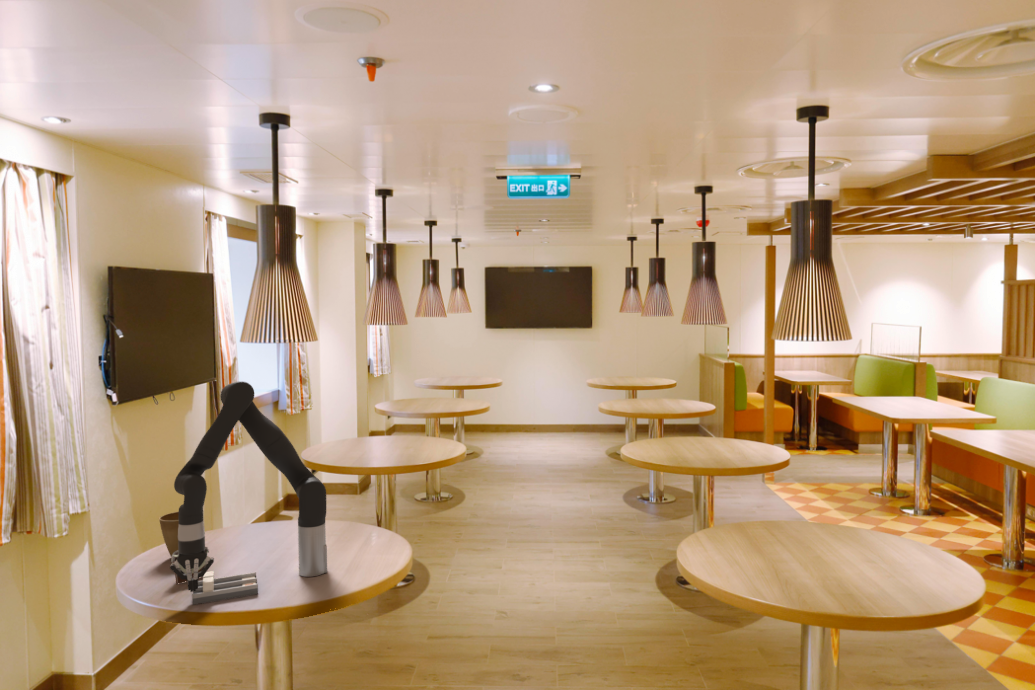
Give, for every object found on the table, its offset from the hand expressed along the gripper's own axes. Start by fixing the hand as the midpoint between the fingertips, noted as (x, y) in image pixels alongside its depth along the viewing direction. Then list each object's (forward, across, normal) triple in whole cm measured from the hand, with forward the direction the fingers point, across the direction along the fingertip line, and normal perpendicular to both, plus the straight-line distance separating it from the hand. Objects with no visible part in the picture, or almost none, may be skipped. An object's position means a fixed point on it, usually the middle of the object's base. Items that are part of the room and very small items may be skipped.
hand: (193, 590), depth 203 cm
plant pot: (+4, +6, -49) cm, 49 cm away
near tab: (+1, -4, 0) cm, 5 cm away
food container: (+4, +3, -23) cm, 23 cm away
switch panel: (+3, -9, -3) cm, 10 cm away
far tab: (+1, -4, -6) cm, 7 cm away
